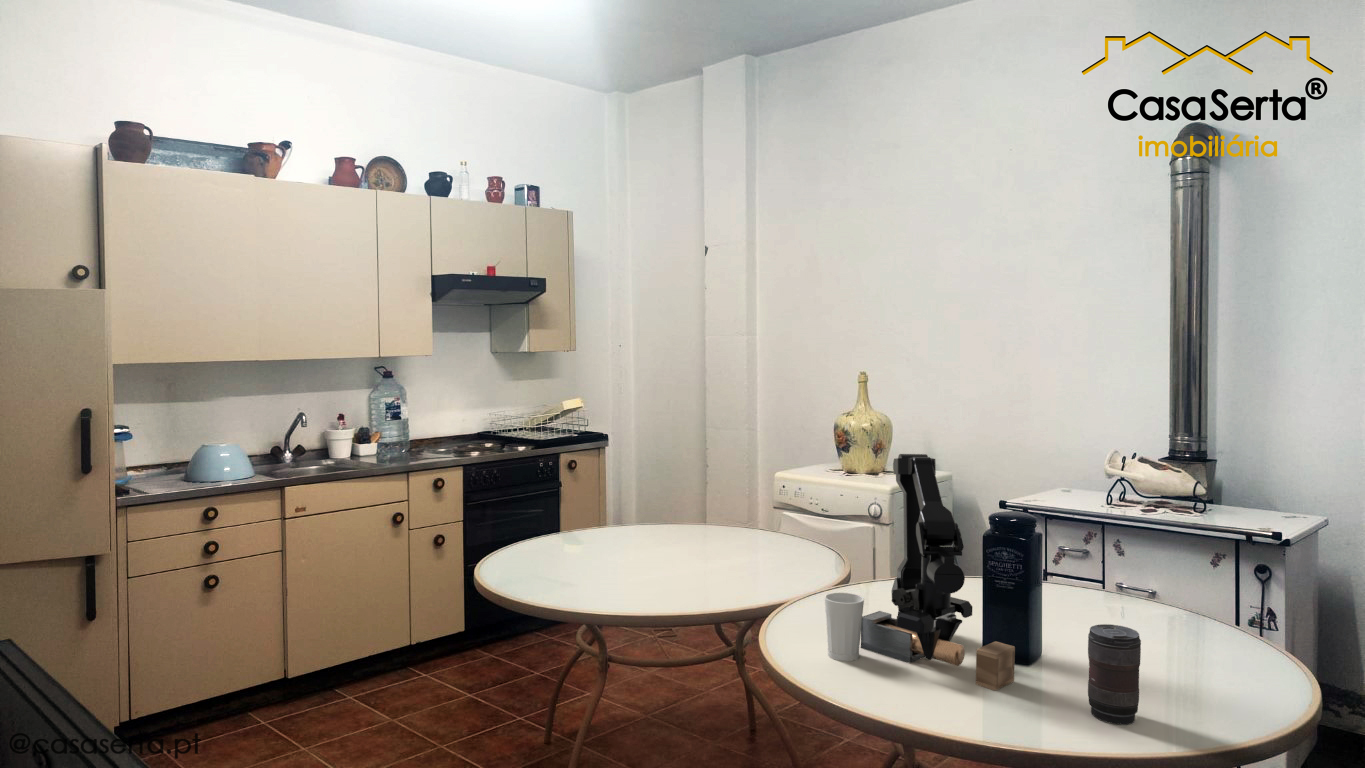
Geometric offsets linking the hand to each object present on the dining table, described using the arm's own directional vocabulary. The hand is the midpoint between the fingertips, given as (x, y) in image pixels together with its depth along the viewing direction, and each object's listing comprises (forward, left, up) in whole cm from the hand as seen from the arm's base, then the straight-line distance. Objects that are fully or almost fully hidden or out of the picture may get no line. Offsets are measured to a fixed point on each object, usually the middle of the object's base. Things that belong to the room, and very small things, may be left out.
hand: (934, 656), depth 174 cm
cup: (+10, -15, -2) cm, 18 cm away
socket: (0, +13, -2) cm, 13 cm away
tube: (0, -4, 0) cm, 4 cm away
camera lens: (-1, +34, -2) cm, 34 cm away
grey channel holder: (0, -9, -2) cm, 10 cm away
